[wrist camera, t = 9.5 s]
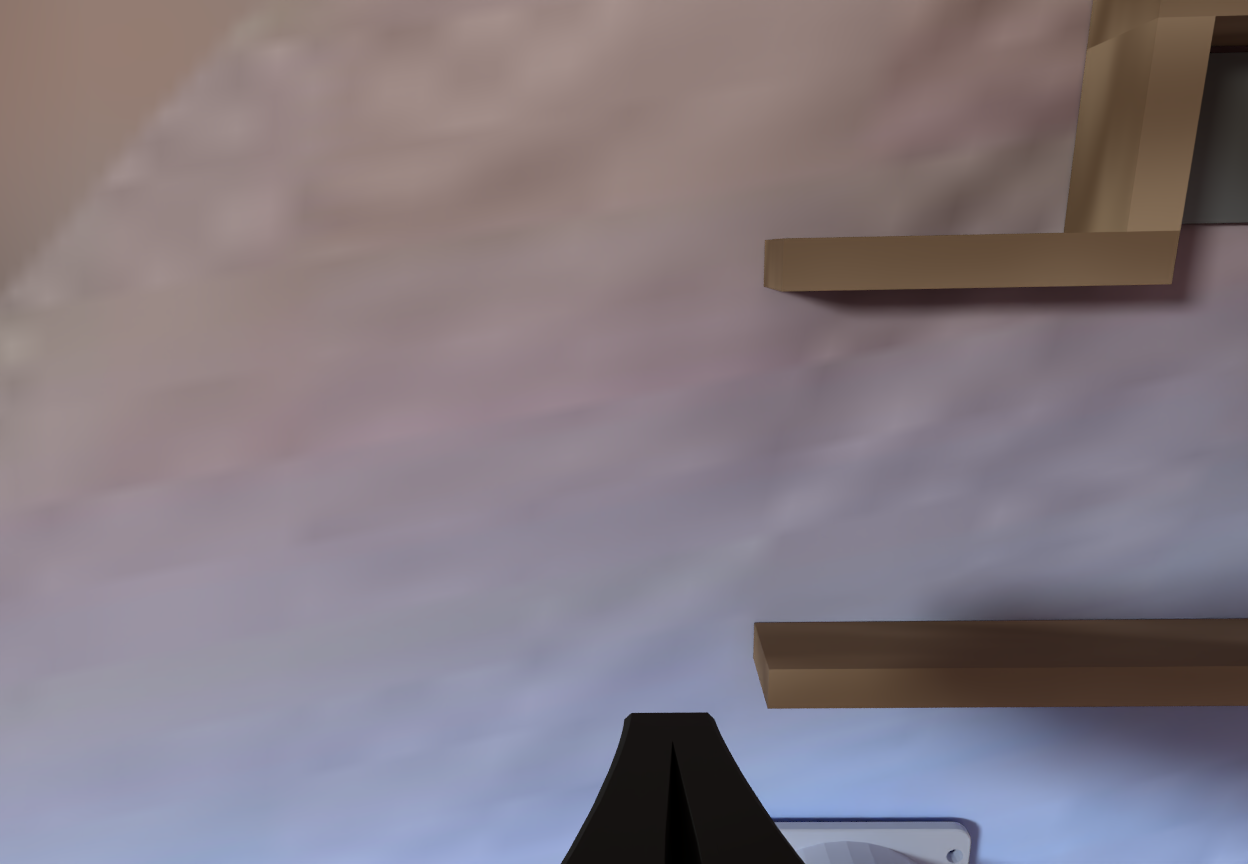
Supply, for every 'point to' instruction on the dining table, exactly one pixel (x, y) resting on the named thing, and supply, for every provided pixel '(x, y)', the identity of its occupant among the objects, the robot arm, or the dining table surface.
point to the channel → (1081, 256)
